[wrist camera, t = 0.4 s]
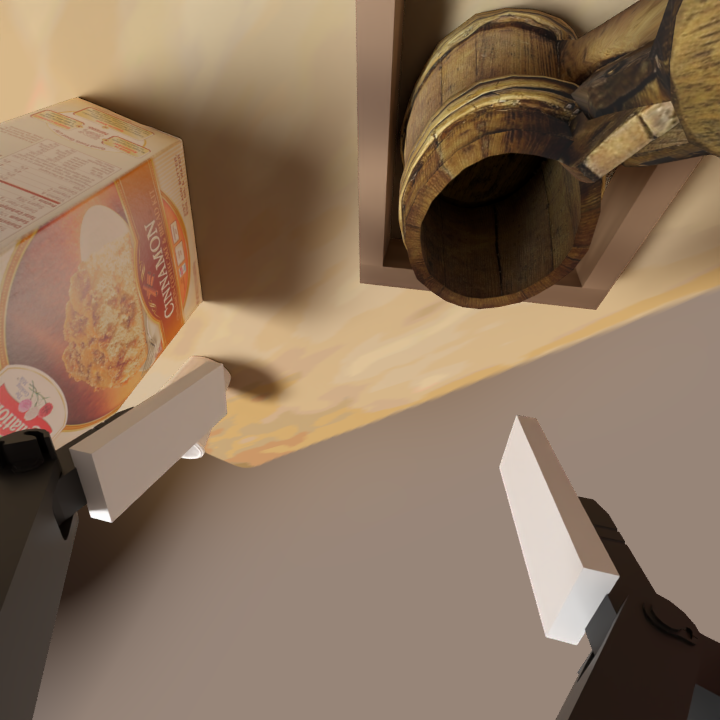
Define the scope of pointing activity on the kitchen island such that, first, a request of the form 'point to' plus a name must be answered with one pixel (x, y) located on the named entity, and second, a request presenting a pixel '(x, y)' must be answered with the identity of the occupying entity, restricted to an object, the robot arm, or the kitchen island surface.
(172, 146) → the coffeecake box
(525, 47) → the wooden mug
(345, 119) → the kitchen island surface
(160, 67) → the kitchen island surface
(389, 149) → the frame
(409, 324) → the kitchen island surface
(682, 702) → the robot arm
